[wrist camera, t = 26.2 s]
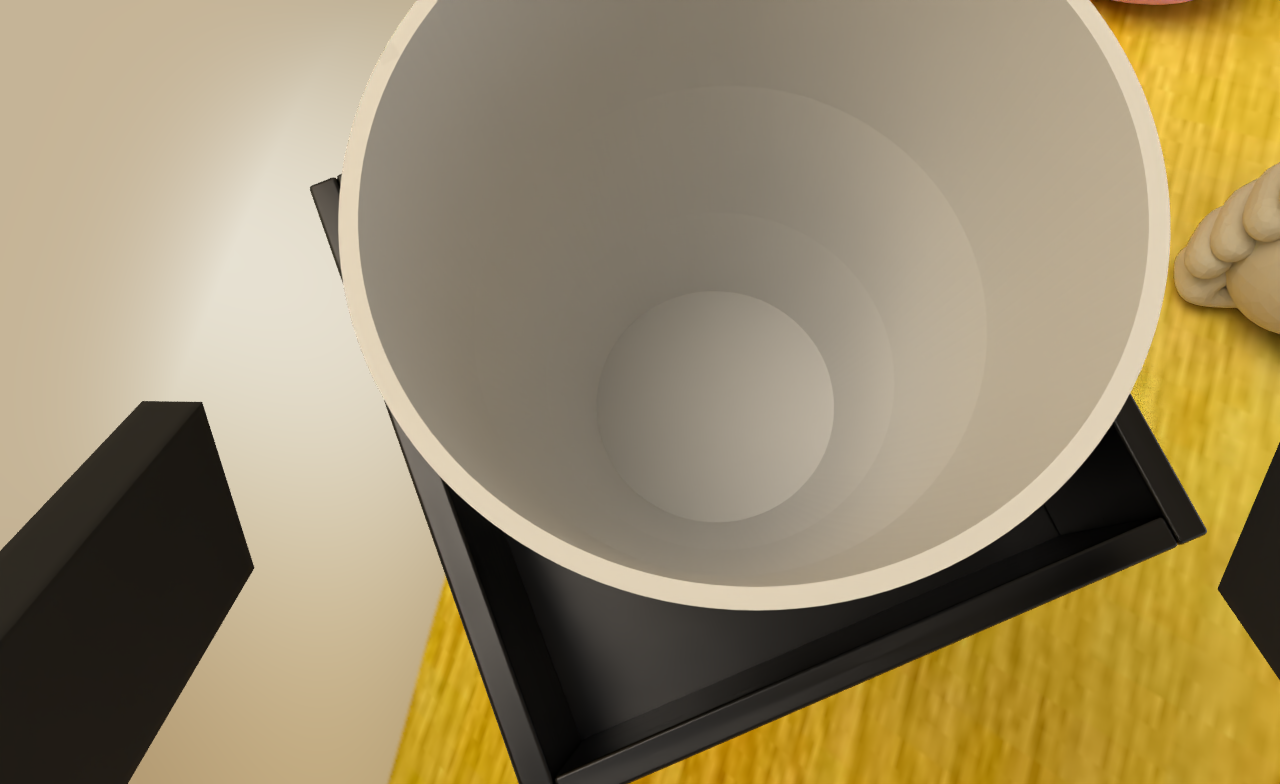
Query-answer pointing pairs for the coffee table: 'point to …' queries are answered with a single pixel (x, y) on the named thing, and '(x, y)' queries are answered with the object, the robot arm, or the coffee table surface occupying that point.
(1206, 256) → the decorative object
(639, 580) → the cup
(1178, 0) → the teapot
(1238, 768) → the coffee table surface
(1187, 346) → the coffee table surface
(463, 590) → the black tray stand
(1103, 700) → the coffee table surface
